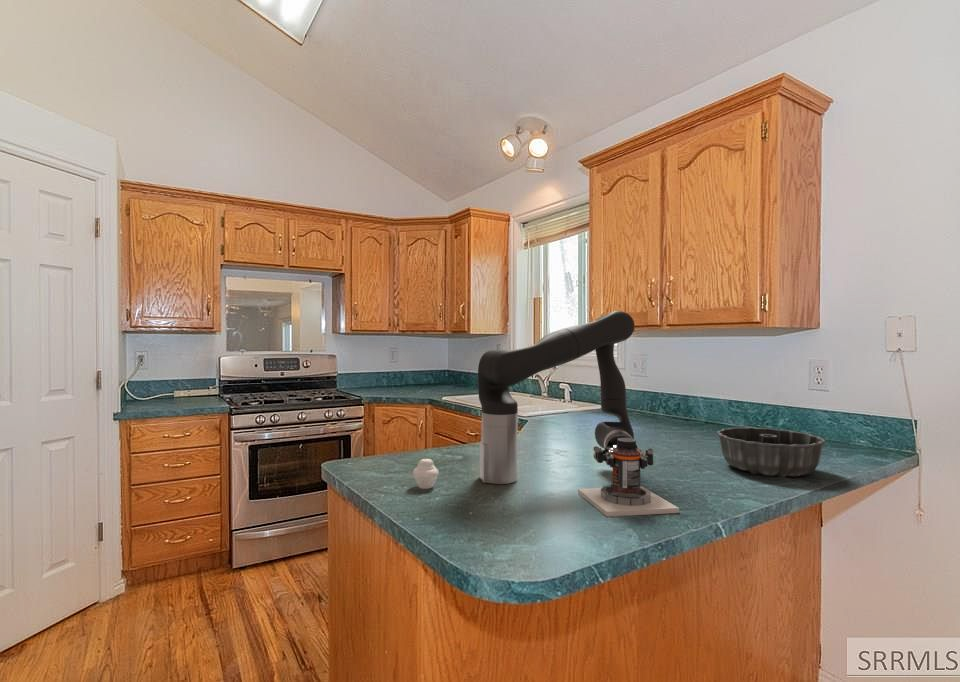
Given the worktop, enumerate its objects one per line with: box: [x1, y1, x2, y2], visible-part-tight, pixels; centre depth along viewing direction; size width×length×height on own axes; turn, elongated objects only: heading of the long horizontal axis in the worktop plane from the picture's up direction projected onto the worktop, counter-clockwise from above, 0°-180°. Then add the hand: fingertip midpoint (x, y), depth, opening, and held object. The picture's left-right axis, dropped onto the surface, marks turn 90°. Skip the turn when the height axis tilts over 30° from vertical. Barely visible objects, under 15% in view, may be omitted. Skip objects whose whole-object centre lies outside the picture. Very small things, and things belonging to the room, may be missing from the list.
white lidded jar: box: [412, 458, 440, 490], centre depth 121 cm, size 6×6×7 cm
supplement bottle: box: [611, 438, 641, 493], centre depth 111 cm, size 6×6×11 cm
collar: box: [601, 484, 652, 506], centre depth 111 cm, size 10×10×2 cm
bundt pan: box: [716, 427, 826, 478], centre depth 142 cm, size 26×26×10 cm
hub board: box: [577, 485, 680, 518], centre depth 111 cm, size 16×16×1 cm
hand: (627, 463), depth 109 cm, fingers closed on supplement bottle, 6 cm apart
